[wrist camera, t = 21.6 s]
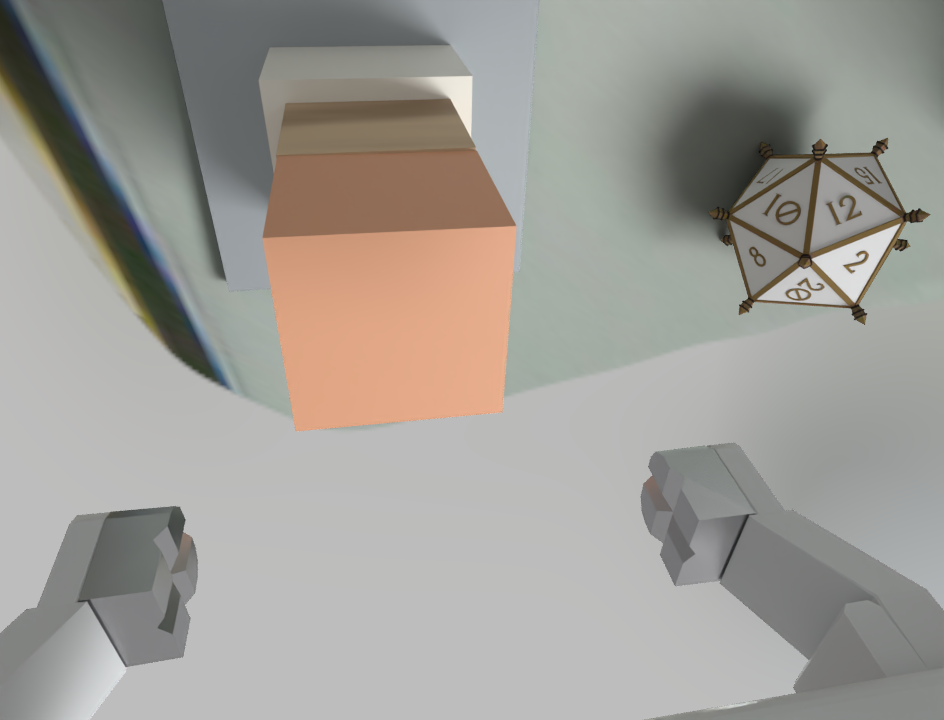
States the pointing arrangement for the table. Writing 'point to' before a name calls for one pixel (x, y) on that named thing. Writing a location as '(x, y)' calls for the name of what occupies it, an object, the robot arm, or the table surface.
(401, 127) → the oak brick
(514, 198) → the baseplate
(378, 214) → the terracotta brick
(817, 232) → the game die
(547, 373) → the table surface
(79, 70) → the table surface
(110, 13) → the table surface
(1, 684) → the robot arm
